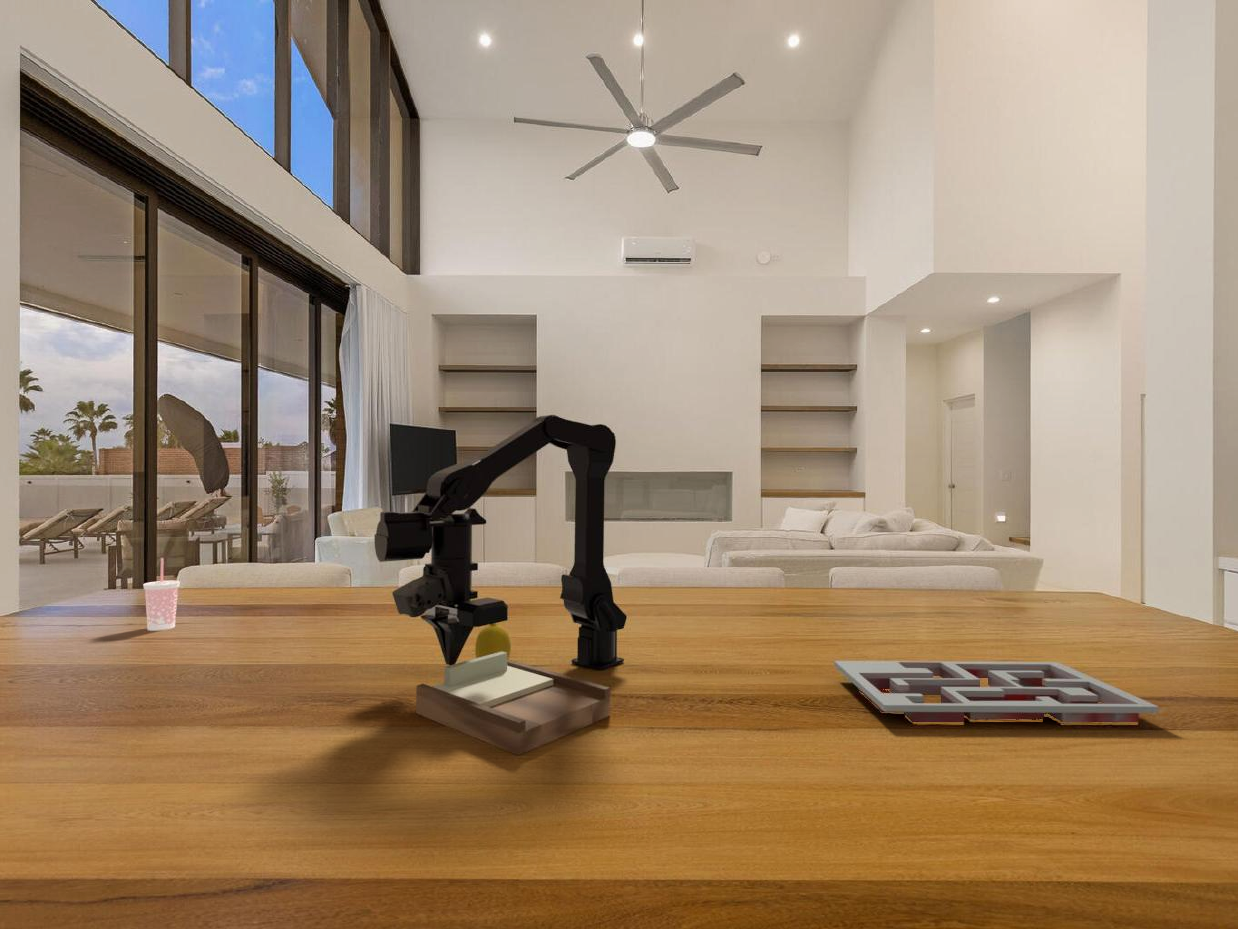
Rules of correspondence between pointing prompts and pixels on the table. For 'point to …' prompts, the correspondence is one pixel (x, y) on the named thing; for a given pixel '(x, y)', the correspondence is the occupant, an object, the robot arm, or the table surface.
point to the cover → (490, 680)
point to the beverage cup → (161, 603)
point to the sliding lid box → (520, 711)
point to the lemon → (492, 641)
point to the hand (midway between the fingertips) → (450, 664)
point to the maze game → (991, 691)
